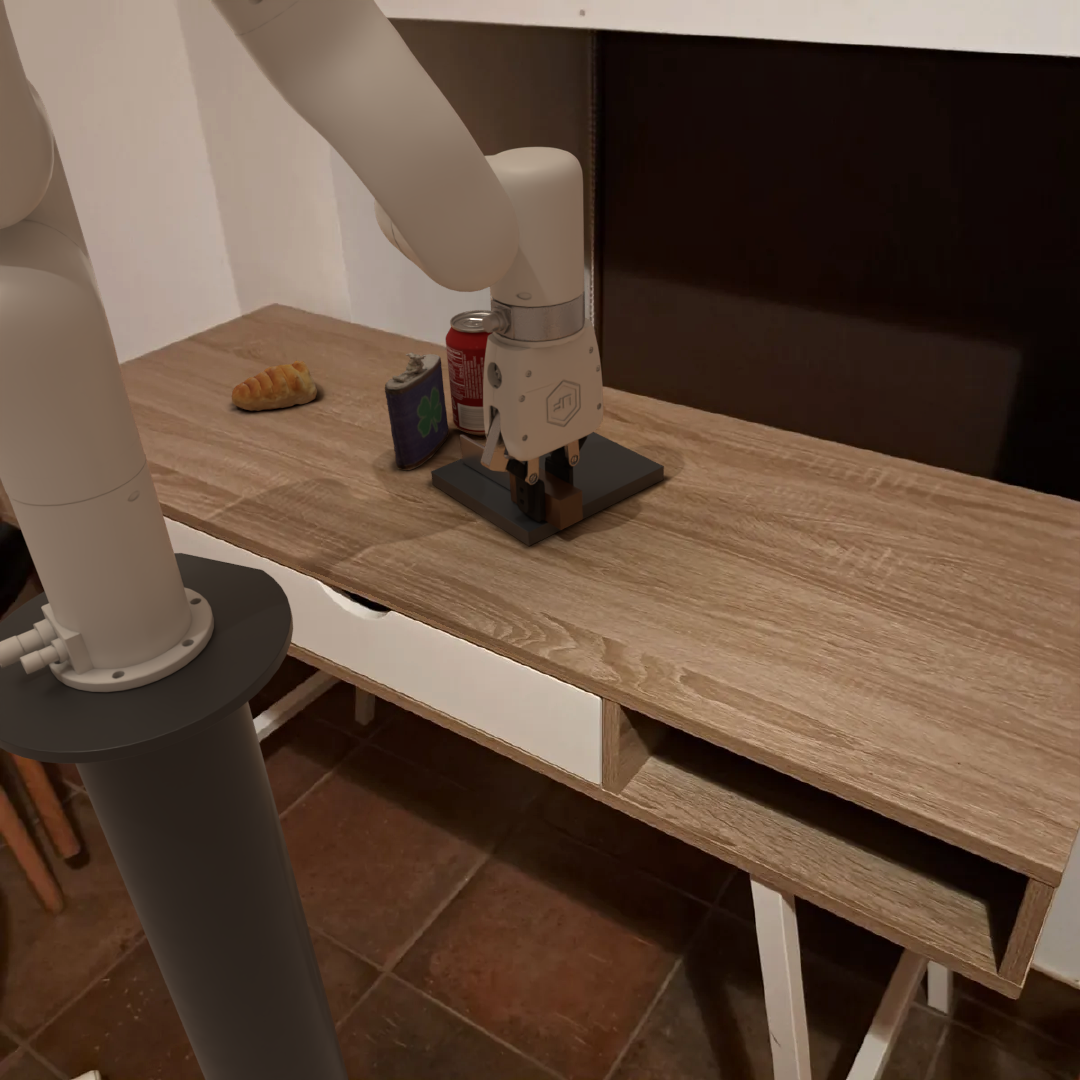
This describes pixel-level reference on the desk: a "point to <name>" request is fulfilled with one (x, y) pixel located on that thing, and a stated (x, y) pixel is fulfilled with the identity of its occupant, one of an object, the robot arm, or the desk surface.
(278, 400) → the pastry
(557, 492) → the knife
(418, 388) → the flask
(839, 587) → the desk surface
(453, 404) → the soda can
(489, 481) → the board
